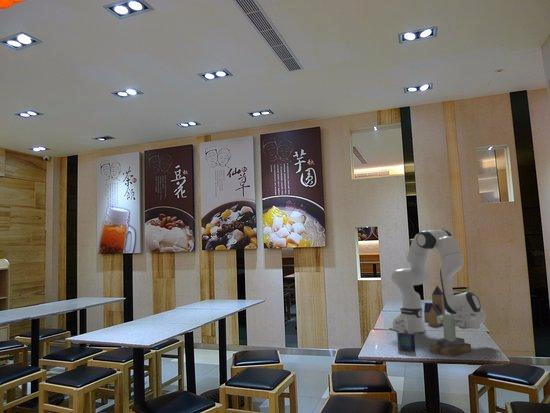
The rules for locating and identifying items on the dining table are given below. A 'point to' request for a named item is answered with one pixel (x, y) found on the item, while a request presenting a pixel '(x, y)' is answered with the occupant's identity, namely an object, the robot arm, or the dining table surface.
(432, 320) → the toy building blocks
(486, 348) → the dining table surface
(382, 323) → the dining table surface
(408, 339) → the flask
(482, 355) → the dining table surface
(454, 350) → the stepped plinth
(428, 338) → the dining table surface
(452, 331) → the sage column
